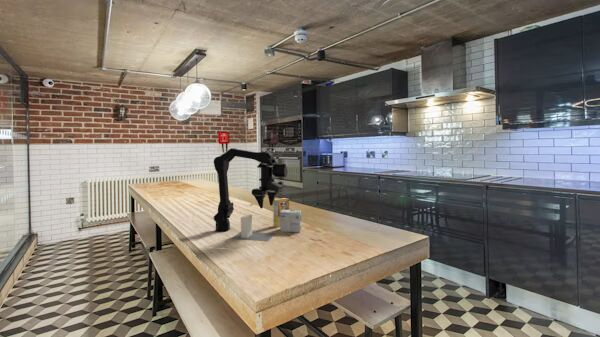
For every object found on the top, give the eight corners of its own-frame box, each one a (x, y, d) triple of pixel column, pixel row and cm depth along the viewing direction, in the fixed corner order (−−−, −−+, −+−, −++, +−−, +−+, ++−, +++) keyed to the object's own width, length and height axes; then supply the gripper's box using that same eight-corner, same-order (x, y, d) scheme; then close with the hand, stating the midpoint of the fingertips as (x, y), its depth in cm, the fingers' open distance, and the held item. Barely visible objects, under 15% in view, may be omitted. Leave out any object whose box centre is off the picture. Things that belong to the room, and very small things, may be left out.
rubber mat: (229, 239, 157) (229, 239, 157) (241, 232, 171) (241, 231, 170) (267, 242, 153) (267, 241, 153) (276, 234, 167) (275, 233, 166)
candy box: (284, 223, 188) (283, 197, 187) (289, 225, 186) (289, 198, 184) (273, 226, 182) (272, 199, 181) (278, 228, 179) (278, 200, 178)
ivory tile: (240, 237, 159) (240, 217, 159) (246, 233, 166) (245, 214, 165) (247, 237, 159) (246, 217, 158) (252, 234, 166) (251, 214, 165)
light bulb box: (301, 229, 176) (301, 209, 175) (300, 232, 169) (300, 212, 168) (282, 228, 177) (281, 209, 176) (280, 232, 170) (279, 211, 170)
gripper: (270, 179, 154) (270, 211, 155) (289, 176, 171) (289, 205, 172) (251, 177, 159) (250, 209, 160) (271, 174, 176) (271, 203, 177)
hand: (266, 206), depth 167 cm, fingers open, 9 cm apart
